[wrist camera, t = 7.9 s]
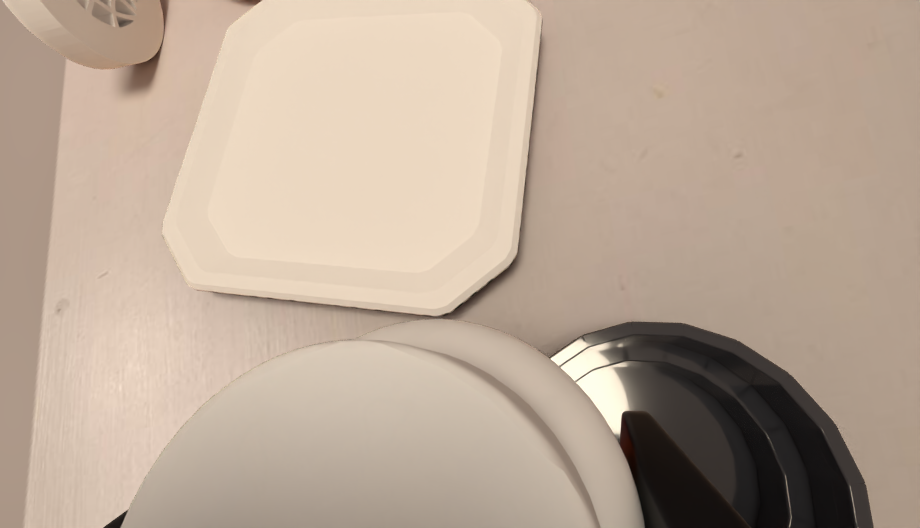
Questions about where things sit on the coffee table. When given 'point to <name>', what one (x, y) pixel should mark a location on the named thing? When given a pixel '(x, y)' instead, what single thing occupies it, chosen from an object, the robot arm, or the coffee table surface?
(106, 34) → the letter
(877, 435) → the coffee table surface
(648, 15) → the coffee table surface
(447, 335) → the pill bottle
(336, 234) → the plate
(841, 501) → the dish
